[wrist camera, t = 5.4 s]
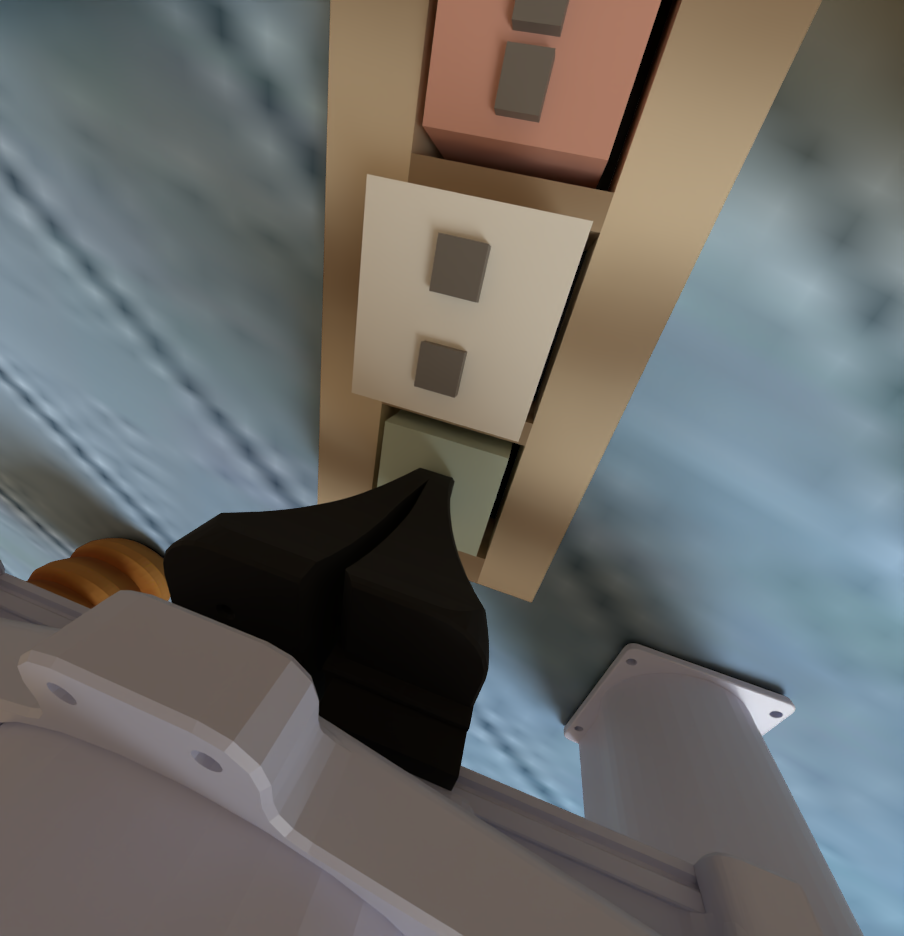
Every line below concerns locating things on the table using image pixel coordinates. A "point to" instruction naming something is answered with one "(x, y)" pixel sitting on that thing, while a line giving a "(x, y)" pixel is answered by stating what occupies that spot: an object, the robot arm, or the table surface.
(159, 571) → the toy
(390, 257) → the cream studded block
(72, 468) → the table surface
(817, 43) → the table surface
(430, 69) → the button
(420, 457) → the button
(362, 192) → the button board
